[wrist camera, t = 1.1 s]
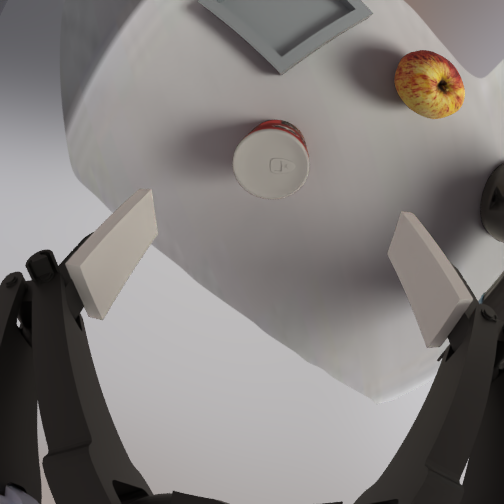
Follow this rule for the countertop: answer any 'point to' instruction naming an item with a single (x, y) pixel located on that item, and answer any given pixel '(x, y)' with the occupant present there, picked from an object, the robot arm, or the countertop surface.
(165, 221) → the countertop surface
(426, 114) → the apple
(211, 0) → the tray
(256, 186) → the canned food
